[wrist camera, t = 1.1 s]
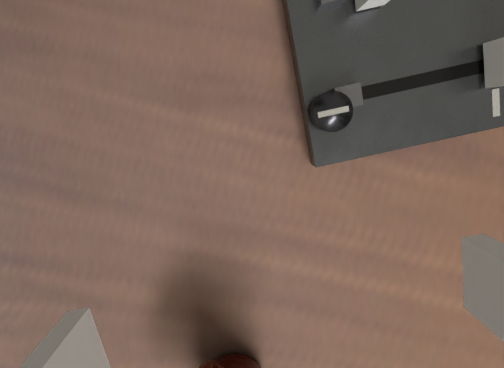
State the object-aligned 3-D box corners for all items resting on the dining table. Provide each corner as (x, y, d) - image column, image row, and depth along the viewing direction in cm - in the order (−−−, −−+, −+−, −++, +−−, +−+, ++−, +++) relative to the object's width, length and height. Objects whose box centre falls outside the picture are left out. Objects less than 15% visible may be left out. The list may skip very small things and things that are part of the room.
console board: (269, -74, 28) (273, -104, 24) (603, -152, 27) (661, -195, 23) (311, 164, 32) (320, 170, 28) (596, 101, 32) (643, 99, 28)
